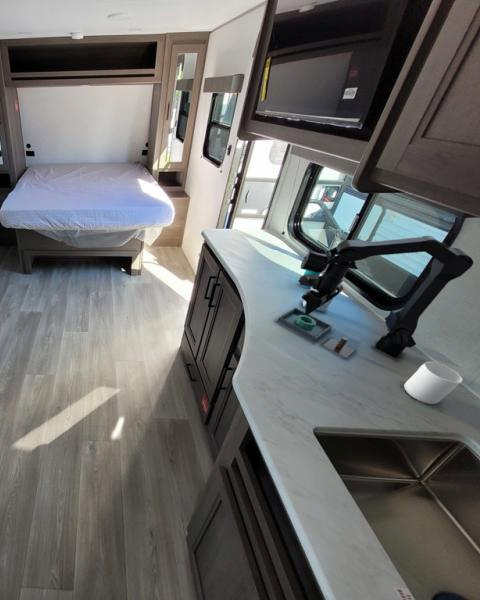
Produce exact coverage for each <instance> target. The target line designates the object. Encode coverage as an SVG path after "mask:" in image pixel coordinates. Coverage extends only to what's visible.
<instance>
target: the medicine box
mask: <svg viewBox="0 0 480 600" xmlns="http://www.w3.org/2000/svg"><path fill="white" fill-rule="evenodd" d="M312 287H313V286H312ZM312 287H311V288H309V291H310V290H313V291H316V292H318V291H317V290H316V289H313V288H312ZM333 300H334V298H332V299H331V300H329V301H328V302H327V303H325V304H324V305H322V306H321V307H319V308H317V309H316V310H315V311H319V312H323V313H325V312H326V311H327V309H328V308H329V306H330V304H331V303H332V301H333ZM302 305H303V307H304V308H306V301H305V300H303V301H302Z"/></svg>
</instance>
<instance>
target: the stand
mask: <svg viewBox="0 0 480 600" xmlns="http://www.w3.org/2000/svg"><path fill="white" fill-rule="evenodd" d="M348 341H349V338H348V337H346V336H343V337H342V336H341V339H340V340H337V339H335V338H333V337H331V338H330V339H329V340H327V341H326V342H325V343H323V346H324V347H325V348H327V349H329V350H331V351H333V352H335V353H336V354H338V355H340V356H342V357H344V358H345V359H347V358H348V357H349V356H351V355H352V354H353V353H354V352H355V351H356V349H354V348H352V347H350V346H348V345H346V344H347V343H348Z"/></svg>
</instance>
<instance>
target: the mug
mask: <svg viewBox="0 0 480 600" xmlns="http://www.w3.org/2000/svg"><path fill="white" fill-rule="evenodd" d="M462 382H464V381H463V377H462V376H461V374H459V373H458V372H457V371H456V370H455V369H453V368H451V367H450V366H447V365H445V364H443V363H440V362H437V361H425V362H424V363H422V364H421V366H419V367H418V369H417V370H416V371H415V372H414V373H413V374H412V376H410V377H409V378H408V380H406V381H405V383H404V384H403V388H404V390H405V391H406V393H407V394H408V395H409V396H411V397H412V398H413V399H415V400H417V401H419V402H421V403H424V404H429V405H435V404H438V403H439V402H441V401H442V400H443V399H444V398H445V397H446V396H448V395H449V394H450V393H451V392H452V391H453V390H454V389H456V388H457V387H458V386H459V385H460V384H461V383H462Z"/></svg>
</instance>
